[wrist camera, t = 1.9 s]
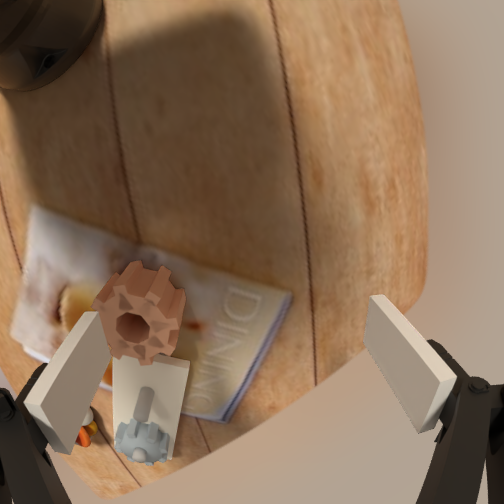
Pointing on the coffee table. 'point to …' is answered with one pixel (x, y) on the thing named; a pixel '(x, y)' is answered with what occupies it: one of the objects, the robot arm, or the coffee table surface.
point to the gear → (140, 312)
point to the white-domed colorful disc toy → (87, 430)
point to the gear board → (160, 382)
